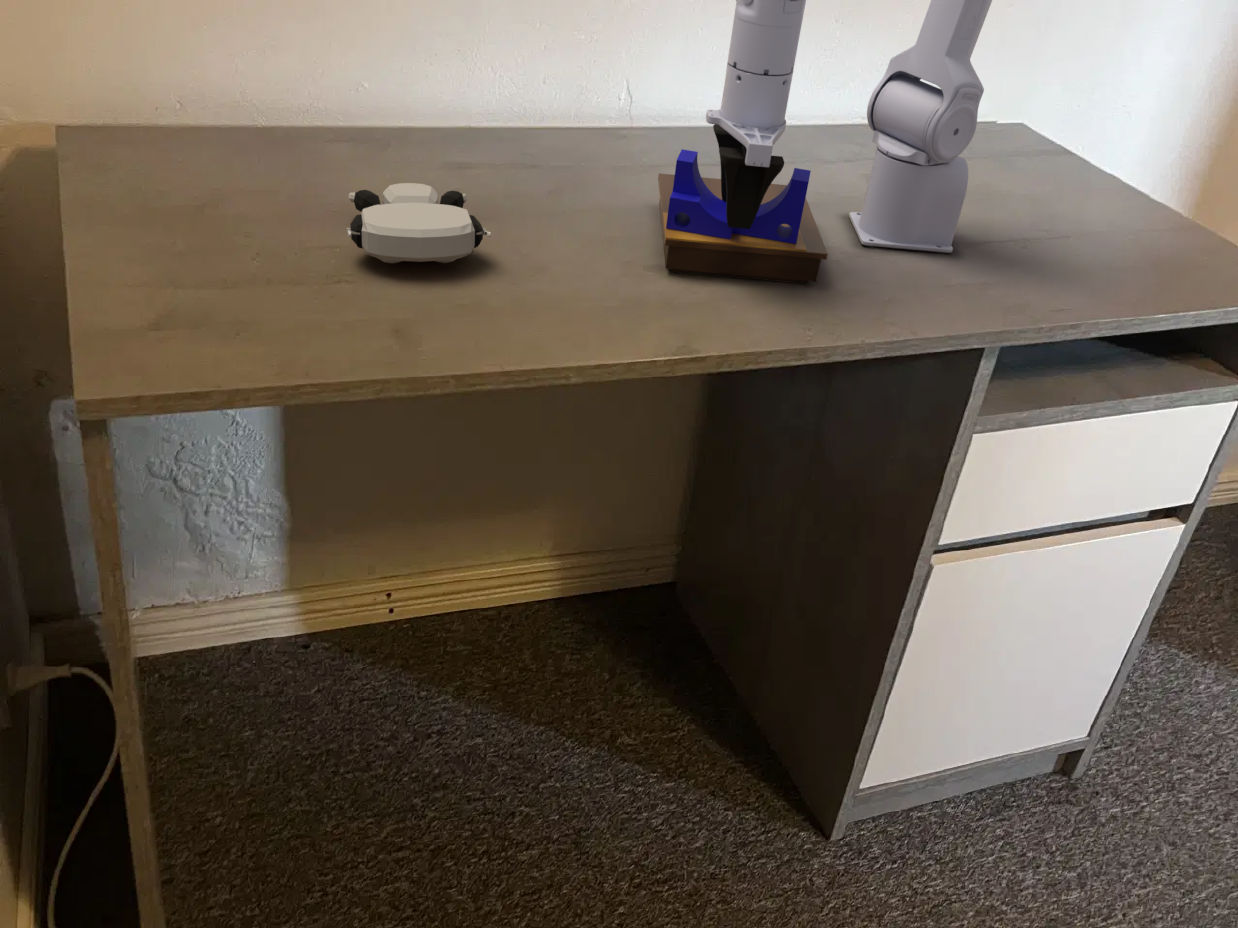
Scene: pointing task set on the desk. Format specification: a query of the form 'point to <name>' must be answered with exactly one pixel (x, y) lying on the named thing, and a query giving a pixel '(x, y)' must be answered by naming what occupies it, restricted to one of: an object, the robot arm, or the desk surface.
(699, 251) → the walnut stand
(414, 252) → the robot toy
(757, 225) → the cable clip
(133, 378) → the desk surface
